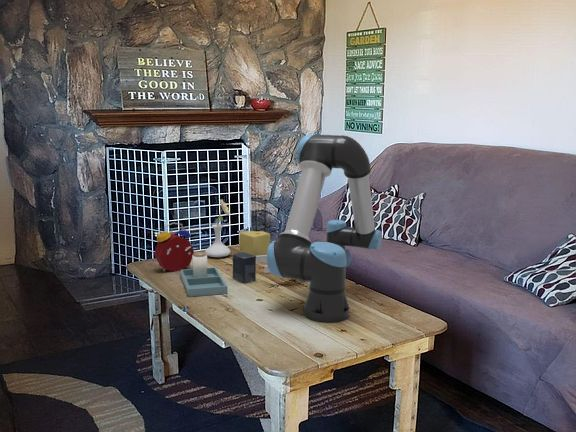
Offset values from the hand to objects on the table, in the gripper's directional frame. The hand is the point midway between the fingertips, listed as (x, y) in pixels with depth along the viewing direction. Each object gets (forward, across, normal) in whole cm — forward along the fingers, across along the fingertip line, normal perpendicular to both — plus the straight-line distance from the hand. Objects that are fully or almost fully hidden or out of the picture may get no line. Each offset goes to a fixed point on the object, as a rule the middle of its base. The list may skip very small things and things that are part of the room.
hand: (260, 264), depth 227 cm
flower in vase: (+10, +37, -6) cm, 39 cm away
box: (+7, -1, -6) cm, 9 cm away
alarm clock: (+31, +18, -6) cm, 36 cm away
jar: (+23, +6, -6) cm, 24 cm away
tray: (+22, -2, -6) cm, 23 cm away
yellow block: (-6, +36, -6) cm, 37 cm away
